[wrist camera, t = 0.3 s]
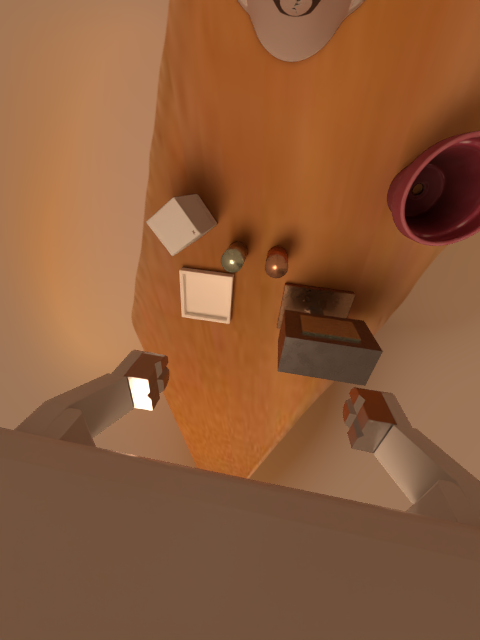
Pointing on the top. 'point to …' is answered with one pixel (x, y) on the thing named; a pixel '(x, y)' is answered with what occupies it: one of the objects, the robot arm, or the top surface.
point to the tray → (206, 295)
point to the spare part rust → (276, 262)
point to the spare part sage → (234, 257)
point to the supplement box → (181, 222)
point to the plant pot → (440, 192)
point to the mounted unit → (324, 336)
